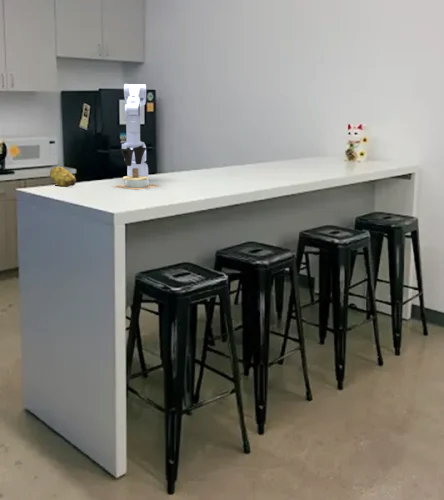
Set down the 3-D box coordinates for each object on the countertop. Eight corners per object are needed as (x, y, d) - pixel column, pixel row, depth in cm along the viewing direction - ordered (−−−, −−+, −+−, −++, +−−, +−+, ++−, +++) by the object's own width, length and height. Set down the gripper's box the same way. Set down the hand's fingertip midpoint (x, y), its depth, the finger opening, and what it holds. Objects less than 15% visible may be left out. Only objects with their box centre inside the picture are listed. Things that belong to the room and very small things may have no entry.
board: (136, 185, 278) (136, 182, 278) (161, 188, 271) (161, 185, 271) (111, 188, 265) (111, 186, 265) (136, 192, 258) (136, 189, 258)
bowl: (135, 183, 274) (135, 177, 274) (152, 186, 269) (152, 179, 268) (120, 186, 266) (120, 179, 266) (137, 188, 261) (137, 181, 261)
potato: (59, 188, 263) (58, 169, 261) (47, 184, 273) (46, 166, 271) (78, 187, 268) (77, 168, 266) (65, 183, 277) (65, 165, 276)
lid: (130, 176, 274) (129, 166, 273) (151, 178, 271) (151, 168, 269) (118, 179, 264) (118, 169, 263) (141, 181, 261) (141, 170, 260)
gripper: (134, 131, 271) (134, 162, 275) (115, 132, 259) (115, 165, 262) (148, 132, 269) (148, 163, 272) (129, 133, 256) (130, 167, 259)
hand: (133, 165), depth 267 cm, fingers open, 7 cm apart
